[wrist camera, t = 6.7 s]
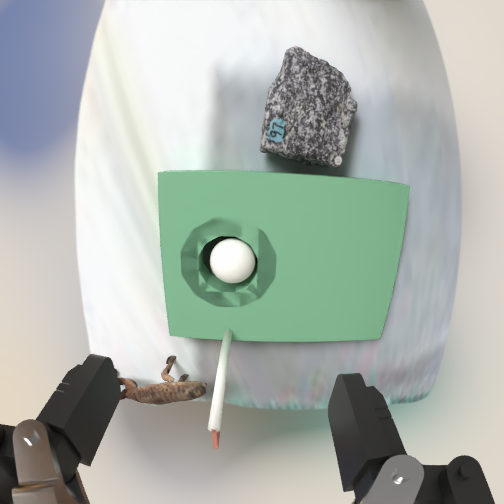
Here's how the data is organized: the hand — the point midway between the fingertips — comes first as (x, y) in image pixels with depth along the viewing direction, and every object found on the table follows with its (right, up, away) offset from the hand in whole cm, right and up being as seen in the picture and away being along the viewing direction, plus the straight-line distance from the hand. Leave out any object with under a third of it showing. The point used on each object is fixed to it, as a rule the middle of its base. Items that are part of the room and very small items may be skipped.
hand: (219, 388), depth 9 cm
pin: (-1, -4, +19) cm, 19 cm away
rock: (+5, +17, +15) cm, 23 cm away
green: (+4, +4, +19) cm, 20 cm away
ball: (-1, +4, +17) cm, 17 cm away
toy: (-11, -10, +24) cm, 28 cm away
